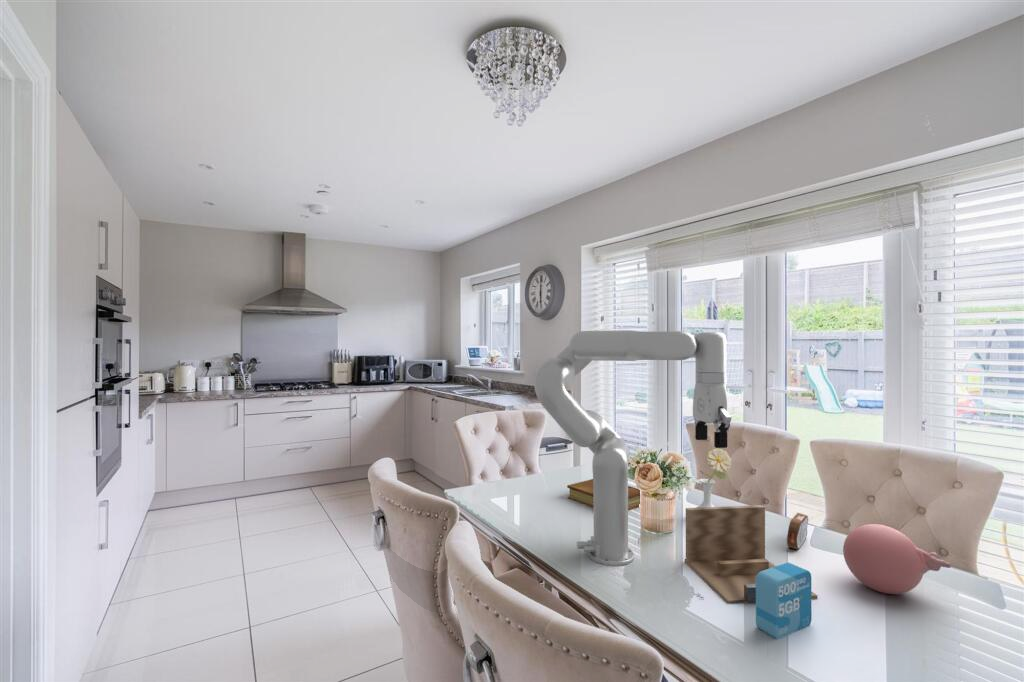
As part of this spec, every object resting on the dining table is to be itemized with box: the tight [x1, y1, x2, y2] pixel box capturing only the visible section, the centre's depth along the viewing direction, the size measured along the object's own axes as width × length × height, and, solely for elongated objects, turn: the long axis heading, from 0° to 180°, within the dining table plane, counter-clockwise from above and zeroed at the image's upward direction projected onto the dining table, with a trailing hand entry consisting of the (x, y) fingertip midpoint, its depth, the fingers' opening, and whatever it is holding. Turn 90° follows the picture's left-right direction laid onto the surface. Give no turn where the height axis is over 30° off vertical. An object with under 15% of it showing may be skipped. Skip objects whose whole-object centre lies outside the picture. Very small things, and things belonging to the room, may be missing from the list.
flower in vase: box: [695, 448, 732, 508], centre depth 157 cm, size 13×11×25 cm
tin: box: [786, 512, 809, 551], centre depth 140 cm, size 15×3×8 cm, turn 137°
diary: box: [566, 478, 640, 512], centre depth 178 cm, size 23×19×6 cm
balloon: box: [842, 523, 952, 595], centre depth 113 cm, size 15×20×15 cm
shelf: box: [684, 504, 818, 605], centre depth 119 cm, size 22×21×15 cm
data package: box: [755, 562, 813, 640], centre depth 99 cm, size 12×4×12 cm, turn 117°
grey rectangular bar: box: [744, 584, 756, 601], centre depth 109 cm, size 13×2×3 cm, turn 96°
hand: (710, 443), depth 124 cm, fingers open, 9 cm apart
